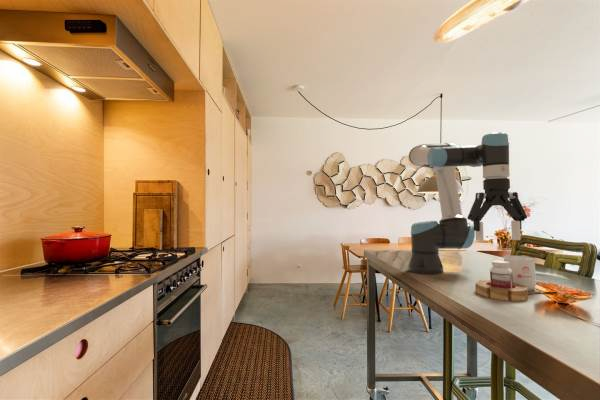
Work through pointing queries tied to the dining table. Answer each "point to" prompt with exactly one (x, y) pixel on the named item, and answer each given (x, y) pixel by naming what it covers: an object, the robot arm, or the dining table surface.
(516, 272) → the mug
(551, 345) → the dining table surface
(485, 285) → the wooden ring
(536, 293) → the lace
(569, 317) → the dining table surface
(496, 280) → the pill bottle
